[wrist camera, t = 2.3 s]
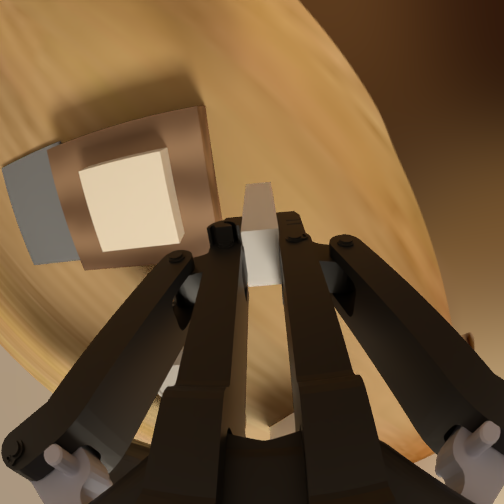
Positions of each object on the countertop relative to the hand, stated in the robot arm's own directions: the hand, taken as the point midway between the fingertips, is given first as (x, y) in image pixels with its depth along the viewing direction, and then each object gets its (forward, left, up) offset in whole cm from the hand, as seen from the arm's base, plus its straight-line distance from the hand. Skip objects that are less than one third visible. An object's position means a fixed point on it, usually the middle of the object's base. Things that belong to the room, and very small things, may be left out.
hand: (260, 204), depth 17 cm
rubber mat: (0, +27, -10) cm, 29 cm away
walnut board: (0, +12, -10) cm, 16 cm away
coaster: (0, +11, -6) cm, 13 cm away
